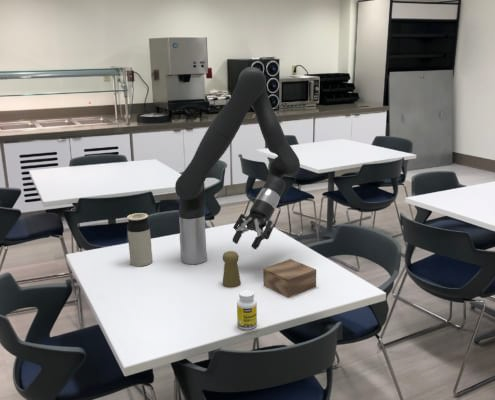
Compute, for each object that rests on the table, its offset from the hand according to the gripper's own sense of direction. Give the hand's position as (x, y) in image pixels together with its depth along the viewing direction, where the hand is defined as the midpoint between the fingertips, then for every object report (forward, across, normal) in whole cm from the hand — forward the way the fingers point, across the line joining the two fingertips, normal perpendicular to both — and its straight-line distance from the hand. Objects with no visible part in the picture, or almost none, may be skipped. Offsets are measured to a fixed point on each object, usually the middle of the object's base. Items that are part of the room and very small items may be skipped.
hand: (243, 245), depth 170 cm
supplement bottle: (+25, +22, -8) cm, 35 cm away
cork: (+13, 0, +4) cm, 13 cm away
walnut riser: (+6, +16, +11) cm, 20 cm away
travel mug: (+18, -39, -2) cm, 43 cm away
